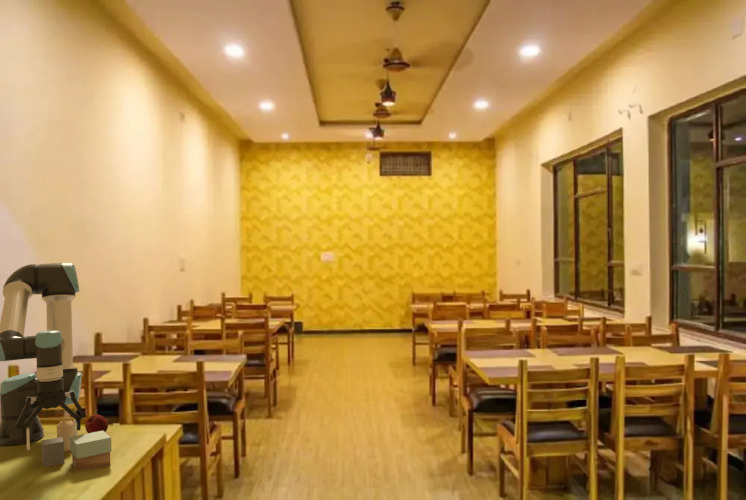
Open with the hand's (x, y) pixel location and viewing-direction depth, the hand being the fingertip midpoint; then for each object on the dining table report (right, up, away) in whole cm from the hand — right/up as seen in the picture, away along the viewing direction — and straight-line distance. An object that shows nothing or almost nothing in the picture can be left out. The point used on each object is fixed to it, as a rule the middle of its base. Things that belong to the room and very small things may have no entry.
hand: (52, 444), depth 199 cm
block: (0, -6, 0) cm, 6 cm away
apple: (+2, -6, +28) cm, 28 cm away
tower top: (+14, -1, -3) cm, 14 cm away
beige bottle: (-2, -6, +13) cm, 15 cm away
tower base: (+14, -6, -3) cm, 15 cm away
